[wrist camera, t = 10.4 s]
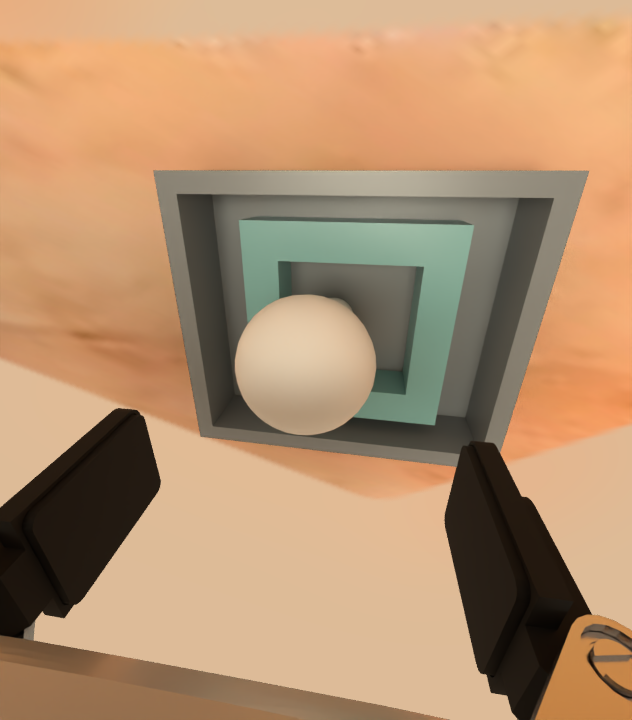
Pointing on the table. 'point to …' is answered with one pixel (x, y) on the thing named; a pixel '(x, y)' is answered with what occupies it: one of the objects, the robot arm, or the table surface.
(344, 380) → the lightbulb
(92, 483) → the robot arm
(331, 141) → the table surface
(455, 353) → the open box
